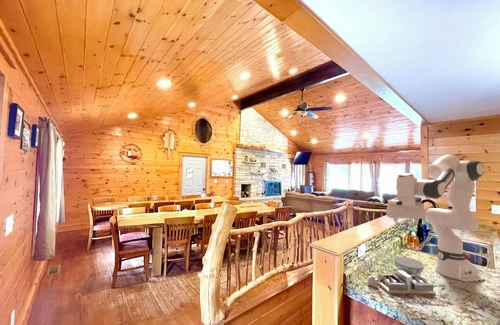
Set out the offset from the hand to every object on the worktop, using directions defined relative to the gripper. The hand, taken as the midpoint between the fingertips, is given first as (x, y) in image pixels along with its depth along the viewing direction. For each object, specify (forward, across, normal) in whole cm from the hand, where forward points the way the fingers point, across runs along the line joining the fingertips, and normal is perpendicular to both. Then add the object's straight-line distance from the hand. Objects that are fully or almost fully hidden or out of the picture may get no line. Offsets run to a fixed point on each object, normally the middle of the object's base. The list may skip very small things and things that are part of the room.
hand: (405, 226), depth 122 cm
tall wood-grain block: (+30, +6, +7) cm, 31 cm away
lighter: (+31, +21, +7) cm, 38 cm away
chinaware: (+31, -7, -8) cm, 33 cm away
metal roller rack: (+31, +6, +7) cm, 32 cm away
